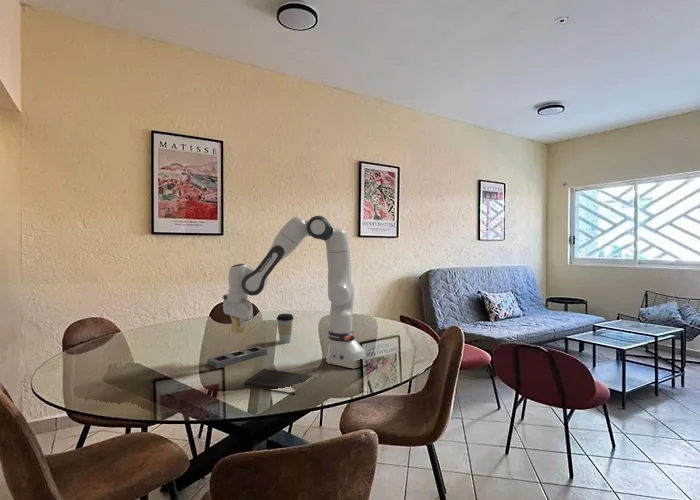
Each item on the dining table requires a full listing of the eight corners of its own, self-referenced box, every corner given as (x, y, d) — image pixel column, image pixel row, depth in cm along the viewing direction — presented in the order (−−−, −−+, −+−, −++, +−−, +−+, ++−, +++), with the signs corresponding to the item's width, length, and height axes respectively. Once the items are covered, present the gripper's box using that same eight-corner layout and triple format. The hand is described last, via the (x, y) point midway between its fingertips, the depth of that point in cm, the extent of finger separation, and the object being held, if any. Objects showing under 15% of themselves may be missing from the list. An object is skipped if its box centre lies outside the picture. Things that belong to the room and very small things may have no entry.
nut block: (243, 332, 194) (243, 317, 194) (236, 333, 191) (236, 319, 191) (238, 330, 197) (239, 316, 196) (231, 332, 194) (231, 317, 193)
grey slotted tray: (266, 354, 203) (266, 348, 202) (216, 368, 182) (216, 362, 181) (257, 350, 208) (257, 345, 208) (207, 364, 187) (207, 358, 187)
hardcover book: (263, 373, 178) (263, 368, 178) (311, 380, 171) (312, 375, 171) (244, 387, 163) (244, 381, 162) (296, 395, 156) (296, 389, 156)
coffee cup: (284, 345, 218) (284, 318, 217) (272, 342, 223) (272, 315, 222) (297, 341, 225) (297, 315, 224) (285, 338, 231) (285, 312, 230)
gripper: (256, 299, 188) (256, 328, 189) (232, 293, 202) (231, 321, 203) (244, 301, 184) (244, 331, 185) (220, 295, 197) (220, 323, 198)
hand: (237, 325), depth 194 cm, fingers closed on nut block, 4 cm apart
